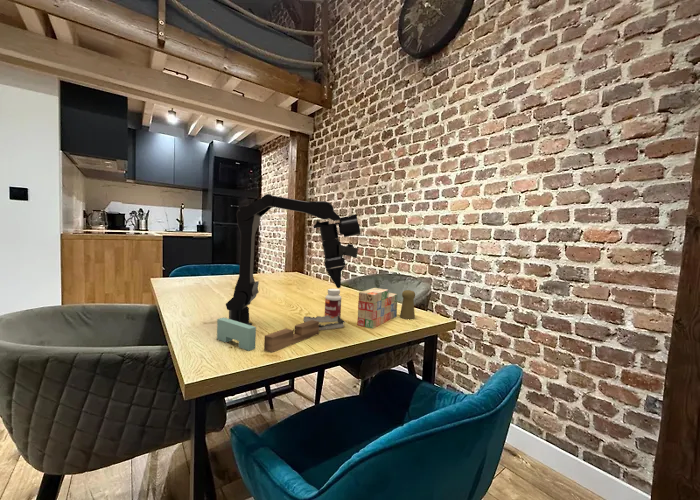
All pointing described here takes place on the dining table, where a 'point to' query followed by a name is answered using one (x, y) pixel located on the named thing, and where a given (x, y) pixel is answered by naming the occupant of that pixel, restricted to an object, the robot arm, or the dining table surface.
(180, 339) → the dining table surface
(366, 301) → the stack of blocks
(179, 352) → the dining table surface
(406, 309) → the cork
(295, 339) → the walnut board
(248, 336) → the teal plate
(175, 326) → the dining table surface
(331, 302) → the pill bottle
